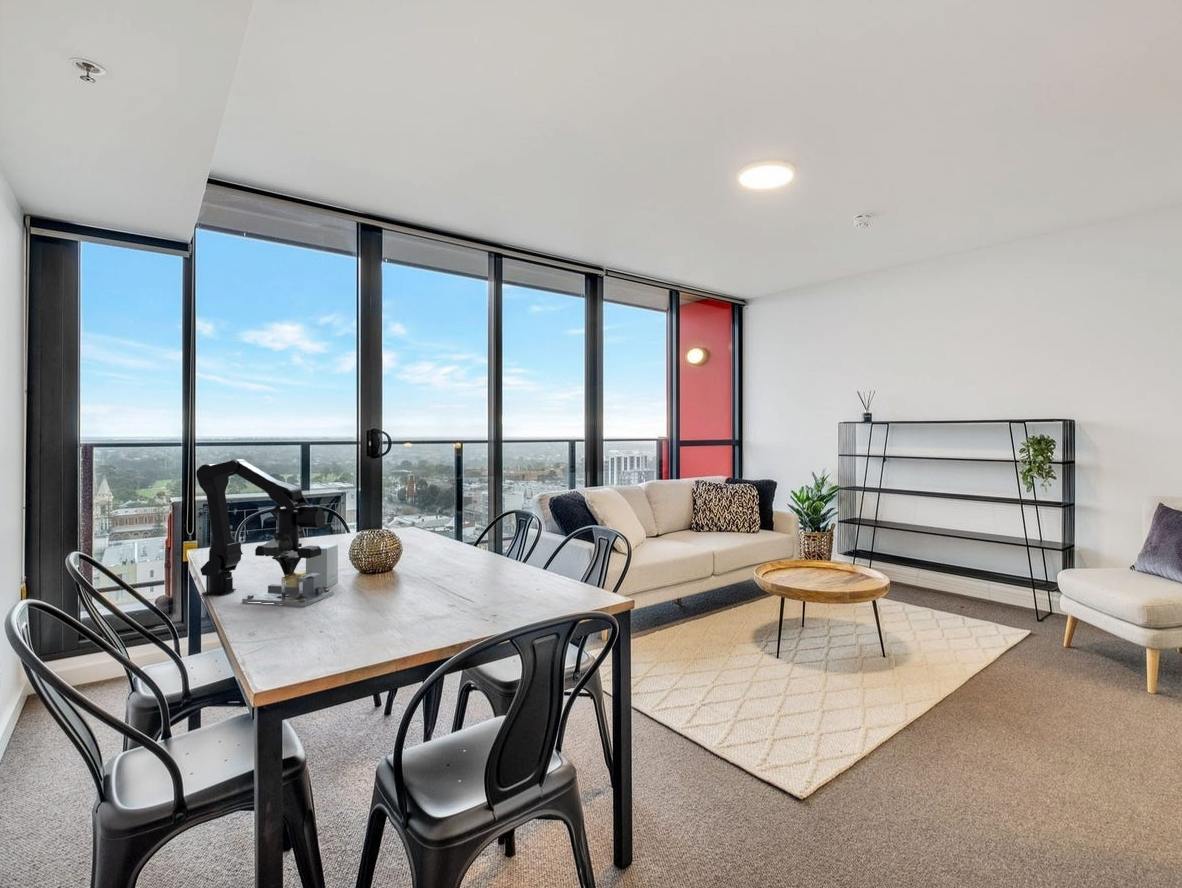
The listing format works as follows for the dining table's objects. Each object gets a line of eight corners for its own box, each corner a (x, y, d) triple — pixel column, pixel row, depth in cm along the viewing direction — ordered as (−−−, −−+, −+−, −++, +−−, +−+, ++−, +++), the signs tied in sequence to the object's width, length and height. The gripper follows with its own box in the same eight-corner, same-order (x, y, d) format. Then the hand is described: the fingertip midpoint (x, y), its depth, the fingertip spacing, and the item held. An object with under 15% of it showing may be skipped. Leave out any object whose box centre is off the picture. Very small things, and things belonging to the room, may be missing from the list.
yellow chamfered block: (276, 595, 176) (276, 577, 176) (295, 588, 184) (295, 571, 184) (287, 596, 176) (287, 578, 176) (306, 589, 184) (306, 572, 184)
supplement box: (338, 582, 200) (338, 544, 200) (326, 588, 192) (326, 548, 192) (317, 581, 200) (317, 543, 200) (304, 587, 193) (304, 547, 193)
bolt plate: (242, 602, 174) (242, 578, 174) (276, 590, 188) (276, 568, 188) (304, 607, 171) (304, 582, 171) (334, 594, 184) (334, 571, 184)
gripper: (241, 530, 177) (241, 583, 177) (298, 533, 173) (298, 587, 173) (268, 525, 188) (268, 575, 188) (322, 527, 184) (322, 578, 184)
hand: (288, 579), depth 183 cm, fingers closed
